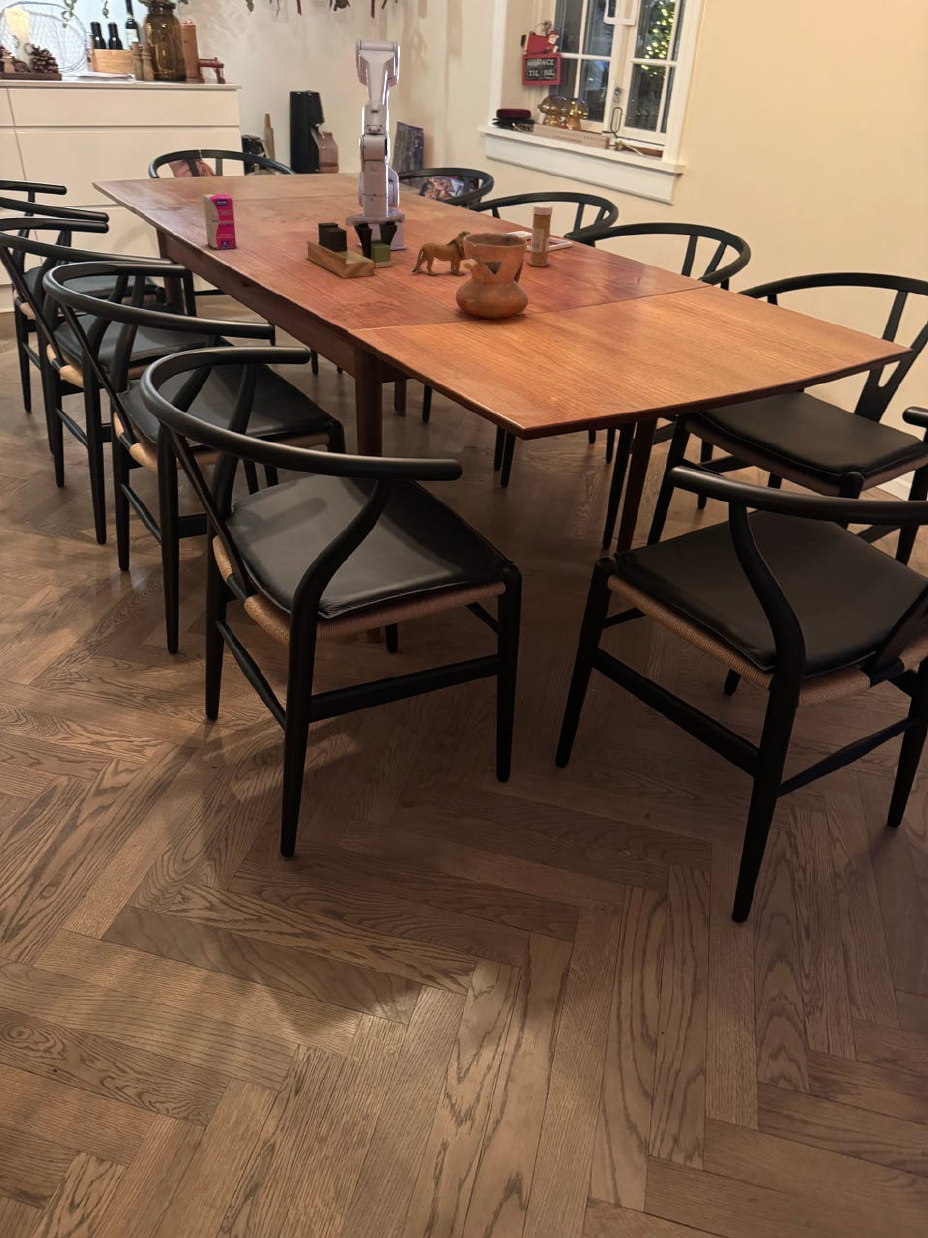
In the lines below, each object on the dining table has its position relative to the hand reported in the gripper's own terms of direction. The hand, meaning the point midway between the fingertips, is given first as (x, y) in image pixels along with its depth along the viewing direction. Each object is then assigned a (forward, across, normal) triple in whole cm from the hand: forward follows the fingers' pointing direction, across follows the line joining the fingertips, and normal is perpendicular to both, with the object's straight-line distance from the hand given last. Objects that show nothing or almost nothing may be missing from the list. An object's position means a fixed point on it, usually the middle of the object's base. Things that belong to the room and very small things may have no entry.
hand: (376, 257), depth 209 cm
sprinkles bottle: (+2, +36, -15) cm, 39 cm away
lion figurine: (+2, +10, -14) cm, 18 cm away
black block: (-2, -9, +5) cm, 10 cm away
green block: (+1, 0, 0) cm, 1 cm away
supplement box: (+2, -28, +29) cm, 40 cm away
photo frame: (+1, +48, +6) cm, 49 cm away
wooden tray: (+1, -9, 0) cm, 9 cm away
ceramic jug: (+2, +2, -47) cm, 47 cm away
